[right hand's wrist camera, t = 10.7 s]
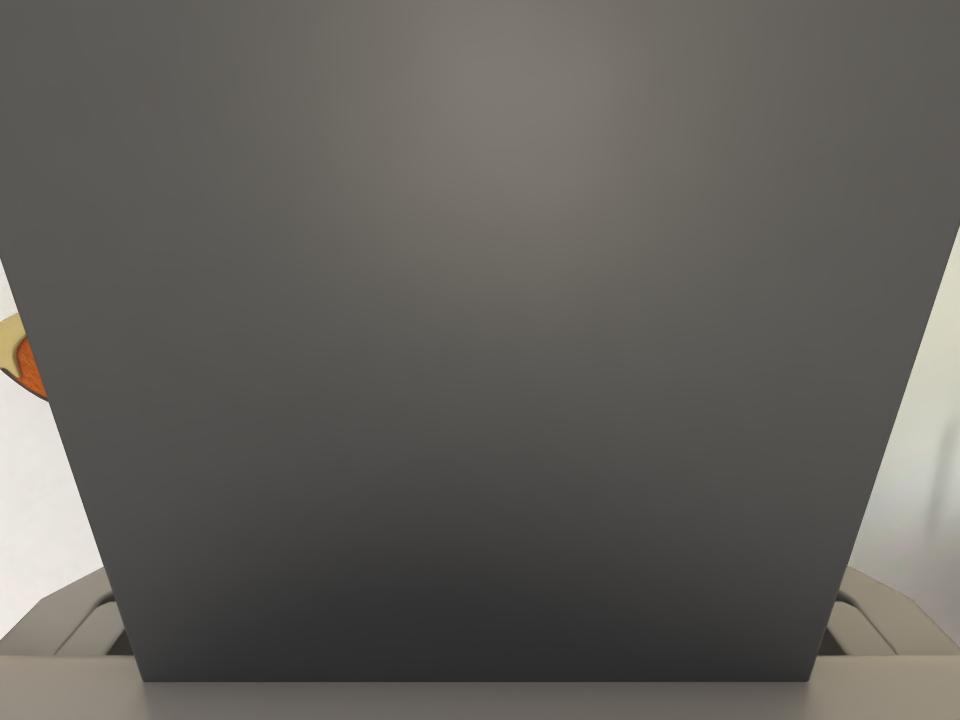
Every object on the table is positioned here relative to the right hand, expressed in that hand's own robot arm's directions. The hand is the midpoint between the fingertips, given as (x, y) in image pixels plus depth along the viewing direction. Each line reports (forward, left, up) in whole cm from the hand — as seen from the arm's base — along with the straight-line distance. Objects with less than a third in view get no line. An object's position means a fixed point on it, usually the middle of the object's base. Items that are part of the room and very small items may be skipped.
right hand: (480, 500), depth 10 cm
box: (+9, -4, -6) cm, 11 cm away
